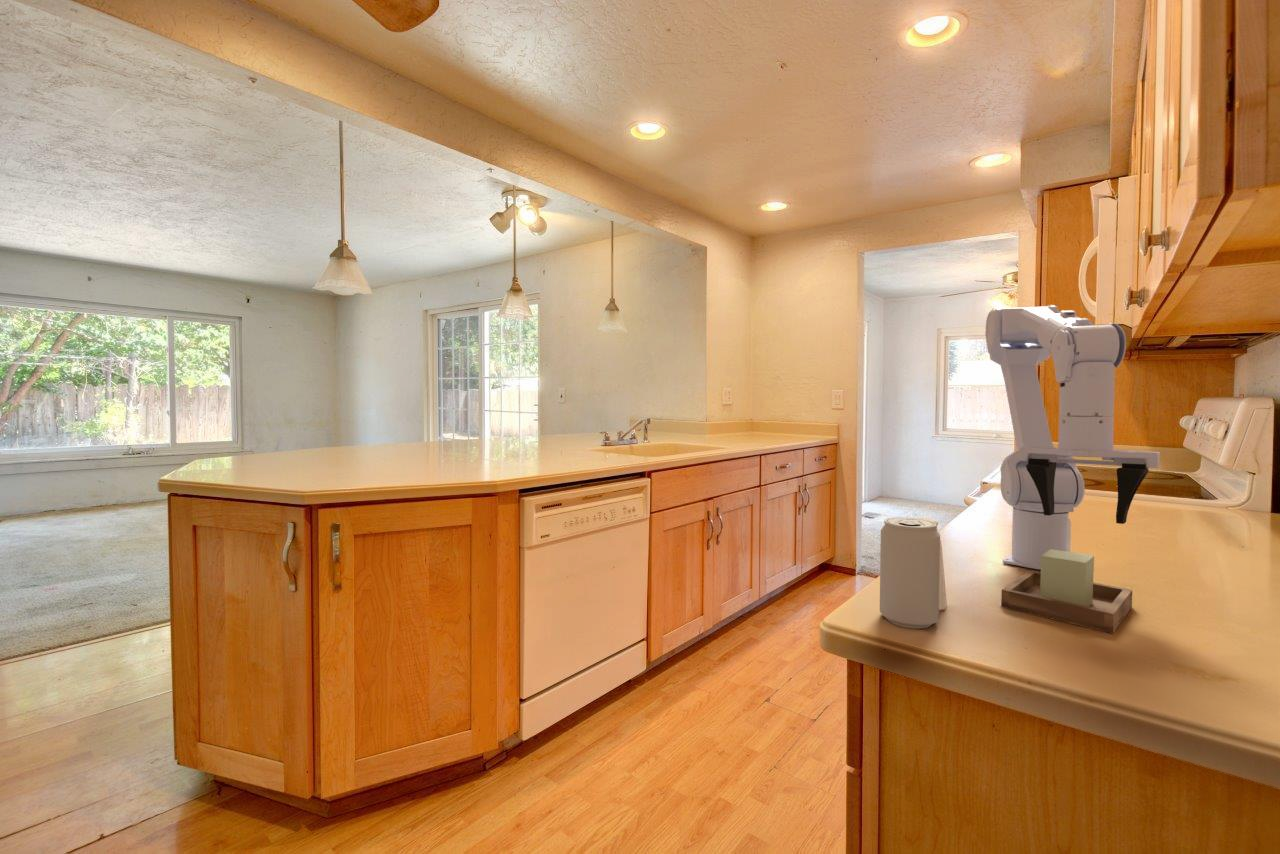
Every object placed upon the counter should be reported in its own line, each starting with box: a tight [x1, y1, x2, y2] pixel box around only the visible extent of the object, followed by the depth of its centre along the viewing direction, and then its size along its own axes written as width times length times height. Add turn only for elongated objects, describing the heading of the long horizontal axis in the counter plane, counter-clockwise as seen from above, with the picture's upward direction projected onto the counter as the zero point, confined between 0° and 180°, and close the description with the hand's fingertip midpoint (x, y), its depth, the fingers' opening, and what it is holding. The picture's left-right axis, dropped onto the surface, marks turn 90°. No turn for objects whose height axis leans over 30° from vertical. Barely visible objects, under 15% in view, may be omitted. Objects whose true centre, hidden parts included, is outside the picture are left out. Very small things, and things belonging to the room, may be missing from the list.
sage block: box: [1040, 549, 1095, 607], centre depth 71 cm, size 4×4×6 cm
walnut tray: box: [1000, 570, 1133, 634], centre depth 71 cm, size 12×11×2 cm
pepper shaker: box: [917, 517, 948, 611], centre depth 72 cm, size 5×5×11 cm
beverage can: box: [879, 516, 941, 630], centre depth 67 cm, size 6×6×12 cm
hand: (1083, 518), depth 75 cm, fingers open, 7 cm apart
